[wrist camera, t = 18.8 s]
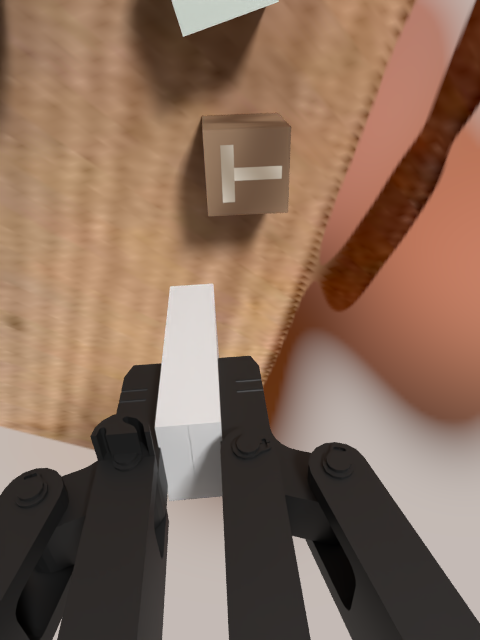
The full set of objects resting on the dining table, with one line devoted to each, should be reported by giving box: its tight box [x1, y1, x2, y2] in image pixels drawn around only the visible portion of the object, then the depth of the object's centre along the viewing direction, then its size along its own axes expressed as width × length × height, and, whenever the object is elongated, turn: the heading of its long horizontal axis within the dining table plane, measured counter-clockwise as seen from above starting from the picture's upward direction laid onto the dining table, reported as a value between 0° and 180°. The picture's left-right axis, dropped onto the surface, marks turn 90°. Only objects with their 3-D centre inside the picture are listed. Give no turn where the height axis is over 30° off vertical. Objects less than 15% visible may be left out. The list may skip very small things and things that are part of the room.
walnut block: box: [202, 113, 291, 216], centre depth 34 cm, size 6×6×6 cm
